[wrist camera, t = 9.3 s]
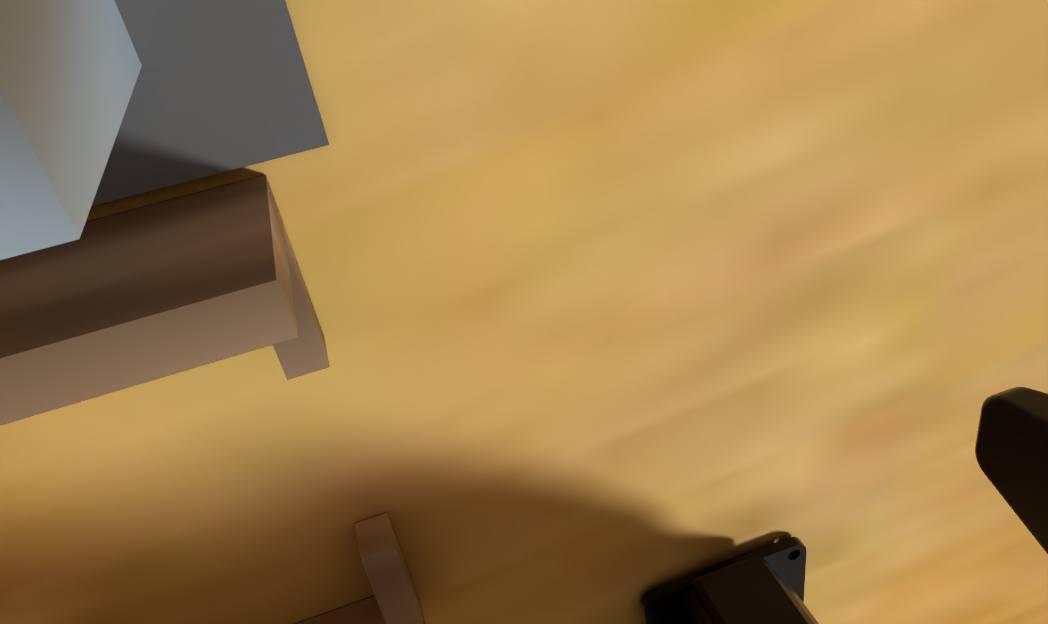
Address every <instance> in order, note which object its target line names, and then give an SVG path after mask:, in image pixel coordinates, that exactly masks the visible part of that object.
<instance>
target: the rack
mask: <svg viewBox="0 0 1048 624" xmlns="http://www.w3.org/2000/svg"><path fill="white" fill-rule="evenodd" d="M270 345H273V346H274V348H275V351H276V353H277V356H278V358H279V361H280V363H281V366H282V368H283V370H284V373H285V375H286V378H287V380H289V379H292V378H295V377H298V376H302V375H305V374H308V373H312V372H315V371H318V370H321V369H325V368H328V367H329V361H328V356H327V350H326V345H325V339H324V335H323V332H322V329H321V327H320V324H319V321H318V318H317V316H316V313H315V310H314V307H313V304H312V302H311V299H310V296H309V293H308V291H307V288H306V285H305V282H304V279H303V277H302V274H301V271H300V268H299V266H298V263H297V260H296V257H295V255H294V252H293V249H292V246H291V243H290V241H289V238H288V235H287V232H286V230H285V227H284V224H283V221H282V218H281V216H280V213H279V210H278V207H277V205H276V202H275V199H274V196H273V193H272V191H271V188H270V185H269V182H268V180H267V177H266V175H263V176H259V177H255V178H251V179H247V180H244V181H240V182H236V183H232V184H228V185H224V186H221V187H217V188H213V189H209V190H205V191H202V192H198V193H194V194H190V195H186V196H183V197H179V198H175V199H171V200H167V201H163V202H160V203H156V204H152V205H148V206H144V207H141V208H137V209H133V210H129V211H125V212H122V213H118V214H114V215H110V216H106V217H102V218H99V219H95V220H91V221H87V222H86V223H85V225H84V228H83V231H82V234H81V236H80V239H78V240H75V241H71V242H67V243H63V244H59V245H56V246H52V247H48V248H44V249H40V250H37V251H33V252H29V253H25V254H22V255H18V256H14V257H10V258H6V259H3V260H0V425H4V424H7V423H11V422H14V421H17V420H21V419H24V418H27V417H31V416H34V415H37V414H41V413H44V412H48V411H51V410H54V409H58V408H61V407H64V406H68V405H71V404H74V403H78V402H81V401H85V400H88V399H91V398H95V397H98V396H101V395H105V394H108V393H111V392H115V391H118V390H122V389H125V388H128V387H132V386H135V385H138V384H142V383H145V382H148V381H152V380H155V379H159V378H162V377H165V376H169V375H172V374H175V373H179V372H182V371H185V370H189V369H192V368H196V367H199V366H202V365H206V364H209V363H212V362H216V361H219V360H222V359H226V358H229V357H233V356H236V355H239V354H243V353H246V352H249V351H253V350H256V349H259V348H263V347H266V346H270ZM354 527H355V533H356V538H357V544H358V550H359V555H360V560H361V563H362V565H363V568H364V570H365V573H366V575H367V577H368V580H369V582H370V585H371V587H372V590H373V592H374V595H375V596H373V597H370V598H367V599H364V600H361V601H359V602H356V603H353V604H350V605H347V606H345V607H342V608H339V609H336V610H333V611H331V612H328V613H325V614H322V615H319V616H317V617H314V618H311V619H308V620H305V621H303V622H300V623H297V624H425V620H424V616H423V612H422V608H421V604H420V602H419V599H418V596H417V593H416V590H415V588H414V585H413V582H412V579H411V577H410V574H409V571H408V568H407V565H406V563H405V560H404V557H403V554H402V552H401V549H400V546H399V543H398V540H397V538H396V535H395V532H394V529H393V527H392V524H391V521H390V518H389V515H388V513H384V514H381V515H378V516H375V517H372V518H369V519H366V520H363V521H361V522H358V523H355V524H354Z"/></svg>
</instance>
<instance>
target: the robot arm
mask: <svg viewBox="0 0 1048 624" xmlns="http://www.w3.org/2000/svg"><path fill="white" fill-rule="evenodd" d="M975 453H976V458H977V461H978V463H979V465H980V467H981V469H982V471H983V472H984V474H985V475H986V476H987V477H988V479H989V480H990V481H991V482H992V484H993V485H994V486H995V488H996V489H997V490H998V491H999V493H1000V494H1001V495H1002V496H1003V498H1004V499H1005V500H1006V502H1007V503H1008V504H1009V505H1010V507H1011V508H1012V509H1013V510H1014V512H1015V513H1016V514H1017V516H1018V517H1019V518H1020V519H1021V521H1022V522H1023V523H1024V524H1025V526H1026V527H1027V528H1028V530H1029V531H1030V532H1031V533H1032V535H1033V536H1034V537H1035V538H1036V540H1037V541H1038V542H1039V544H1040V545H1041V546H1042V547H1043V549H1044V550H1045V551H1046V552H1047V554H1048V394H1047V393H1043V392H1040V391H1036V390H1033V389H1029V388H1025V387H1016V388H1012V389H1009V390H1006V391H1003V392H1000V393H998V394H995V395H992V396H990V397H988V398H987V399H986V400H985V401H984V403H983V405H982V409H981V415H980V421H979V428H978V434H977V440H976V446H975ZM805 564H806V547H805V546H804V545H803V543H802V542H801V541H800V540H799V539H798V538H797V537H791V538H787V539H784V540H782V541H779V542H776V543H774V544H771V545H769V546H766V547H763V548H761V549H758V550H755V551H753V552H750V553H747V554H745V555H742V556H739V557H737V558H734V559H731V560H729V561H726V562H723V563H721V564H718V565H715V566H713V567H710V568H707V569H705V570H702V571H700V572H697V573H694V574H692V575H689V576H686V577H684V578H681V579H678V580H676V581H673V582H670V583H668V584H665V585H662V586H660V587H657V588H654V589H652V590H650V591H648V592H646V593H645V594H644V595H643V596H642V597H641V599H640V611H641V619H642V624H818V622H817V621H816V619H815V618H814V617H813V615H812V614H811V613H810V611H809V610H808V609H807V607H806V606H805V604H804V603H803V600H804V582H805Z"/></svg>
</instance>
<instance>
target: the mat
mask: <svg viewBox="0 0 1048 624" xmlns="http://www.w3.org/2000/svg"><path fill="white" fill-rule="evenodd" d="M115 3H116V5H117V8H118V10H119V12H120V15H121V17H122V20H123V22H124V24H125V27H126V29H127V31H128V34H129V36H130V39H131V41H132V43H133V46H134V48H135V51H136V53H137V55H138V58H139V60H140V63H141V65H142V67H141V69H140V72H139V75H138V78H137V81H136V83H135V86H134V89H133V92H132V94H131V97H130V100H129V103H128V106H127V108H126V111H125V114H124V117H123V119H122V122H121V125H120V128H119V131H118V133H117V136H116V139H115V142H114V145H113V147H112V150H111V153H110V156H109V158H108V161H107V164H106V167H105V170H104V172H103V175H102V178H101V181H100V184H99V186H98V189H97V192H96V195H95V197H94V200H93V203H92V206H95V205H98V204H102V203H106V202H110V201H114V200H118V199H122V198H125V197H129V196H133V195H137V194H141V193H145V192H149V191H152V190H156V189H160V188H164V187H168V186H172V185H176V184H179V183H183V182H187V181H191V180H195V179H199V178H203V177H206V176H210V175H214V174H218V173H222V172H226V171H229V170H233V169H237V168H241V167H245V166H249V165H253V164H256V163H260V162H264V161H268V160H272V159H276V158H280V157H283V156H287V155H291V154H295V153H299V152H303V151H307V150H310V149H314V148H318V147H322V146H326V145H329V143H328V139H327V136H326V133H325V129H324V126H323V123H322V120H321V116H320V113H319V110H318V107H317V103H316V100H315V97H314V94H313V90H312V87H311V84H310V81H309V77H308V74H307V71H306V68H305V64H304V61H303V58H302V54H301V51H300V48H299V45H298V41H297V38H296V35H295V32H294V28H293V25H292V22H291V19H290V15H289V12H288V9H287V6H286V2H285V0H115Z"/></svg>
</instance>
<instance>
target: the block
mask: <svg viewBox="0 0 1048 624" xmlns="http://www.w3.org/2000/svg"><path fill="white" fill-rule="evenodd" d="M141 67H142V65H141V63H140V60H139V58H138V55H137V53H136V51H135V48H134V46H133V43H132V41H131V39H130V36H129V34H128V31H127V29H126V27H125V24H124V22H123V20H122V17H121V15H120V12H119V10H118V8H117V5H116V3H115V0H0V260H3V259H6V258H10V257H14V256H18V255H22V254H25V253H29V252H33V251H37V250H40V249H44V248H48V247H52V246H56V245H59V244H63V243H67V242H71V241H75V240H78V239H80V236H81V234H82V231H83V228H84V225H85V223H86V220H87V217H88V214H89V211H90V209H91V206H92V203H93V200H94V197H95V195H96V192H97V189H98V186H99V184H100V181H101V178H102V175H103V172H104V170H105V167H106V164H107V161H108V158H109V156H110V153H111V150H112V147H113V145H114V142H115V139H116V136H117V133H118V131H119V128H120V125H121V122H122V119H123V117H124V114H125V111H126V108H127V106H128V103H129V100H130V97H131V94H132V92H133V89H134V86H135V83H136V81H137V78H138V75H139V72H140V69H141Z"/></svg>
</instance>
